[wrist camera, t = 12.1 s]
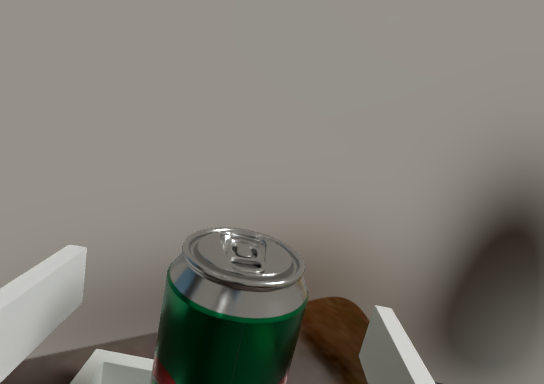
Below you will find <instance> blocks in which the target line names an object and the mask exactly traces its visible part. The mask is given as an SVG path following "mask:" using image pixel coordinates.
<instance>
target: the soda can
mask: <svg viewBox="0 0 544 384" xmlns="http://www.w3.org/2000/svg"><path fill="white" fill-rule="evenodd" d="M304 271H305V264H304V260H303V258H302V257H301V255H300V254H299V253H298V252H297V251H296V250H294V249H293V248H292V247H291V246H289V245H287V244H286V243H284V242H282V241H280V240H278V239H276V238H273V237H271V236H268V235H265V234H262V233H258V232H254V231H249V230H244V229H237V228H211V229H204V230H200V231H197V232H195V233H193V234H191V235H190V236H188V237H187V238H186V239H185V241H184V243H183V246H182V253H181V254H180V255H179V256H178V257H177V258H176V259H175V260H174V261H173V262H172V263H171V264H170V266H169V268H168V271H167V277H166V283H165V290H164V296H163V303H162V309H161V316H160V322H159V329H158V335H157V342H156V348H155V355H154V361H153V368H152V374H151V380H150V384H286V380H287V376H288V372H289V369H290V365H291V361H292V358H293V354H294V350H295V346H296V343H297V339H298V335H299V331H300V328H301V324H302V320H303V316H304V313H305V309H306V305H307V302H308V290H307V287H306V284H305V281H304V279H303V274H304Z"/></svg>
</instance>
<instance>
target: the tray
mask: <svg viewBox="0 0 544 384" xmlns="http://www.w3.org/2000/svg"><path fill="white" fill-rule="evenodd" d="M153 361H154V360H152V359H147V358H142V357H137V356H132V355H126V354H121V353H116V352H111V351H106V350H100V349H96V350H95V352H94V353H93V354H92V356H91V357H90V358H89V359H88V361H87V362H86V363H85V365H84V366H83V367H82V369H81V370H80V371H79V372H78V374H77V375H76V376H75V378H74V379H73V380H72V382H71V383H70V384H150V380H151V374H152V368H153Z"/></svg>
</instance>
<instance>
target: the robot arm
mask: <svg viewBox="0 0 544 384" xmlns="http://www.w3.org/2000/svg"><path fill="white" fill-rule="evenodd" d="M86 252H87V248H85V247H81V246H75V245H68V246H66V247H65V248H63V249H62V250H60V251H58V252H57V253H55V254H54V255H52V256H51V257H49V258H47V259H46V260H44V261H43V262H41V263H40V264H38V265H36V266H35V267H33V268H32V269H30V270H29V271H27V272H25V273H24V274H22V275H21V276H19V277H18V278H16V279H14V280H13V281H11V282H10V283H8V284H7V285H5V286H4V287H2V288H0V383H1V382H2V381H3V380H4V379H5V378H6V377H7V376H8V375H9V374H10V373H11V372H12V371H13V370H14V369H15V368H16V367H17V366H18V365H19V364H20V363H21V362H22V361H23V360H24V359H25V358H26V357H27V356H28V355H29V354H30V353H31V352H32V351H33V350H34V349H35V348H36V347H37V346H38V345H39V344H40V343H41V342H42V341H43V340H44V339H45V338H46V337H47V336H48V335H50V334H51V333H52V332H53V331H54V330H55V328H57V327H58V326H59V325H60V324H61V323H62V322H63V321H64V320H65V319H66V318H67V317H68V316H69V315H70V314H71V313H72V312H73V311H74V310H75V309H76V308H77V307H78V306H79V305H80V304H81V303H82V298H83V286H84V275H85V263H86ZM359 358H360V361H361V364H362V367H363V370H364V373H365V376H366V379H367V382H368V384H441V383H436V382H434V380H433V379H432V377H431V375H430V374H429V372H428V370H427V369H426V367H425V365H424V364H423V362H422V360H421V358H420V357H419V355H418V353H417V351H416V350H415V348H414V347H413V345H412V343H411V341H410V340H409V338H408V336H407V334H406V333H405V331H404V329H403V327H402V326H401V324H400V323H399V321H398V319H397V317H396V316H395V314H394V312H393V311H392V309H391V308H386V307H381V306H376V305H375V307H374V310H373V314H372V317H371V320H370V323H369V326H368V329H367V332H366V335H365V338H364V342H363V345H362V348H361V351H360V354H359Z"/></svg>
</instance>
